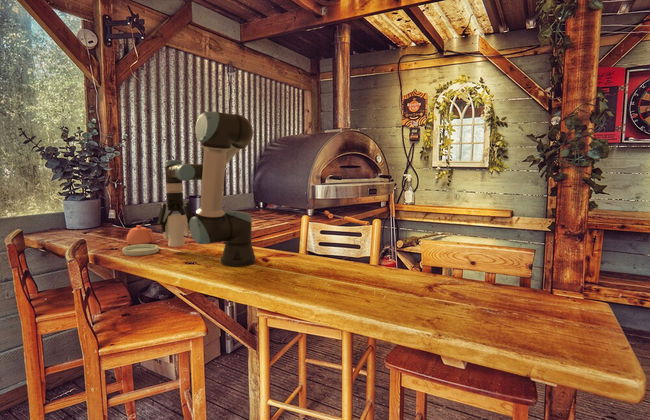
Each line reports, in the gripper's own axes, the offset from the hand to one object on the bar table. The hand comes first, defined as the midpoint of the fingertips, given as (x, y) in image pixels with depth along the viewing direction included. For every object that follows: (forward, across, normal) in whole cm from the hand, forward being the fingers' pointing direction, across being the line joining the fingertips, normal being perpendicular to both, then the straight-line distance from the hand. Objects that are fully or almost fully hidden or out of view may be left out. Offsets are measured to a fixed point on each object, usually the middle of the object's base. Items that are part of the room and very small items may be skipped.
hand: (176, 237), depth 192 cm
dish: (+7, +11, -14) cm, 19 cm away
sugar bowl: (+7, +2, -31) cm, 32 cm away
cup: (+4, 0, 0) cm, 4 cm away
